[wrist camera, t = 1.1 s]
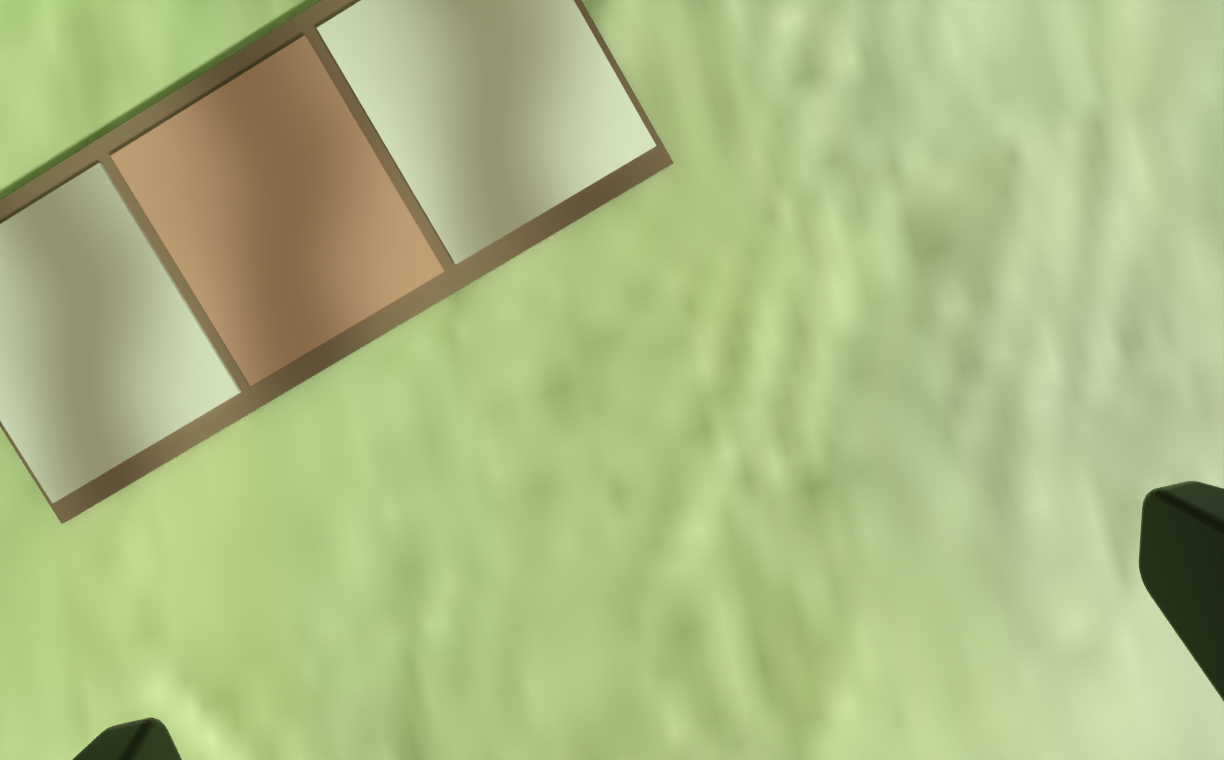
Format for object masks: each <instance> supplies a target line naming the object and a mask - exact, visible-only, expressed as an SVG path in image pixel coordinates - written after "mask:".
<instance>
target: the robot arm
mask: <svg viewBox="0 0 1224 760" xmlns="http://www.w3.org/2000/svg"><path fill="white" fill-rule="evenodd" d="M1139 569H1140V574H1141V578H1142V581H1143V583H1144V585H1145V587H1146V589H1147V591H1148V592H1149V594H1150V595H1151V597H1152V598H1153V600H1154V601H1155V603H1156V604H1157V606H1158V607H1159V608H1160V610H1161V611H1162V613H1163V614H1164V616H1165V617H1166V619H1167V620H1168V621H1169V623H1170V624H1171V626H1172V627H1173V629H1174V630H1175V632H1176V633H1177V634H1178V636H1179V637H1180V639H1181V640H1182V642H1183V643H1184V645H1185V646H1186V647H1187V649H1188V650H1189V652H1190V653H1191V655H1192V656H1193V658H1194V659H1195V661H1196V662H1197V663H1198V665H1199V666H1200V668H1201V669H1202V671H1203V672H1204V674H1205V675H1206V676H1207V678H1208V679H1209V681H1210V682H1211V684H1212V685H1213V687H1214V688H1215V689H1216V691H1217V692H1218V694H1219V695H1220V697H1221V698H1222V700H1223V701H1224V489H1223V488H1219V487H1215V486H1212V485H1208V484H1204V483H1201V482H1196V481H1187V482H1182V483H1178V484H1173V485H1169V486H1165V487H1160V488H1156V489H1153V490H1152V491H1150V492H1149V493H1148V494H1147V495H1146V497H1145V499H1144V501H1143V507H1142V520H1141V536H1140V551H1139ZM73 760H182V759H181V757H180V755H179V753H178V751H177V749H176V747H175V744H174V742H173V740H172V738H171V736H170V734H169V732H168V730H167V728H166V727H165V725H164V724H163V723H162V722H161V721H160V720H158V719H155V718H146V719H141V720H137V721H132V722H128V723H123V724H119V725H115V726H112V727H109V728H107V729H106V730H104V731H103V732H102V733H101V734H100V735H99V736H97V737H96V738H95V739H94V740H93V741H92V742H91V743H90V744H89V745H88V746H87V747H86V748H85V749H83V750H82V751H81V752H80V753H79V754H78V755H77V756H76V757H75V758H74V759H73Z"/></svg>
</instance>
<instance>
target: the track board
mask: <svg viewBox="0 0 1224 760" xmlns="http://www.w3.org/2000/svg"><path fill="white" fill-rule="evenodd" d="M671 164H673V161H672V159H671V158H670V156H669V154H668V152H667V151H666V149H665V147H664V145H663V144H662V142H661V140H660V138H659V137H658V135H657V133H656V131H655V129H654V128H653V126H652V124H651V122H650V121H649V119H648V117H647V115H646V114H645V112H644V110H643V108H642V107H641V105H640V103H639V101H638V100H637V98H636V96H635V94H634V92H633V91H632V89H631V87H630V85H629V84H628V82H627V80H626V78H625V77H624V75H623V73H622V71H621V70H620V68H619V66H618V64H617V63H616V61H615V59H614V57H613V55H612V54H611V52H610V50H609V48H608V47H607V45H606V43H605V41H604V40H603V38H602V36H601V34H600V33H599V31H598V29H597V27H596V25H595V24H594V22H593V20H592V18H591V17H590V15H589V13H588V11H587V10H586V8H585V6H584V4H583V3H582V1H581V0H321V1H319V2H318V3H316V4H314V5H313V6H311V7H309V8H308V9H306V10H305V11H303V12H301V13H300V14H298V15H297V16H295V17H293V18H292V19H290V20H289V21H287V22H285V23H284V24H282V25H281V26H279V27H277V28H276V29H274V30H273V31H271V32H269V33H268V34H266V35H265V36H263V37H261V38H260V39H258V40H256V41H255V42H253V43H252V44H250V45H248V46H247V47H245V48H244V49H242V50H240V51H239V52H237V53H236V54H234V55H232V56H231V57H229V58H228V59H226V60H224V61H223V62H221V63H220V64H218V65H216V66H215V67H213V68H211V69H210V70H208V71H207V72H205V73H203V74H202V75H200V76H199V77H197V78H195V79H194V80H192V81H191V82H189V83H187V84H186V85H184V86H183V87H181V88H179V89H178V90H176V91H175V92H173V93H171V94H170V95H168V96H167V97H165V98H163V99H162V100H160V101H158V102H157V103H155V104H154V105H152V106H150V107H149V108H147V109H146V110H144V111H142V112H141V113H139V114H138V115H136V116H134V117H133V118H131V119H130V120H128V121H126V122H125V123H123V124H122V125H120V126H118V127H117V128H115V129H114V130H112V131H110V132H109V133H107V134H105V135H104V136H102V137H101V138H99V139H97V140H96V141H94V142H93V143H91V144H89V145H88V146H86V147H85V148H83V149H81V150H80V151H78V152H77V153H75V154H73V155H72V156H70V157H69V158H67V159H65V160H64V161H62V162H60V163H59V164H57V165H56V166H54V167H52V168H51V169H49V170H48V171H46V172H44V173H43V174H41V175H40V176H38V177H36V178H35V179H33V180H32V181H30V182H28V183H27V184H25V185H24V186H22V187H20V188H19V189H17V190H16V191H14V192H12V193H11V194H9V195H7V196H6V197H4V198H3V199H1V200H0V427H1V428H2V430H3V431H4V433H5V435H6V436H7V438H8V439H9V441H10V443H11V444H12V446H13V447H14V449H15V450H16V452H17V454H18V455H19V457H20V458H21V460H22V462H23V463H24V465H25V466H26V468H27V470H28V471H29V473H30V474H31V476H32V477H33V479H34V481H35V482H36V484H37V485H38V487H39V489H40V490H41V492H42V493H43V495H44V497H45V498H46V500H47V501H48V503H49V504H50V506H51V508H52V509H53V511H54V512H55V514H56V516H57V517H58V519H59V520H60V522H61V523H64V522H67V521H68V520H70V519H72V518H73V517H75V516H77V515H79V514H80V513H82V512H84V511H85V510H87V509H89V508H90V507H92V506H94V505H95V504H97V503H99V502H101V501H102V500H104V499H106V498H107V497H109V496H111V495H112V494H114V493H116V492H117V491H119V490H121V489H123V488H124V487H126V486H128V485H129V484H131V483H133V482H134V481H136V480H138V479H140V478H141V477H143V476H145V475H146V474H148V473H150V472H151V471H153V470H155V469H156V468H158V467H160V466H162V465H163V464H165V463H167V462H168V461H170V460H172V459H173V458H175V457H177V456H178V455H180V454H182V453H184V452H185V451H187V450H189V449H190V448H192V447H194V446H195V445H197V444H199V443H200V442H202V441H204V440H206V439H207V438H209V437H211V436H212V435H214V434H216V433H217V432H219V431H221V430H222V429H224V428H226V427H228V426H229V425H231V424H233V423H234V422H236V421H238V420H239V419H241V418H243V417H245V416H246V415H248V414H250V413H251V412H253V411H255V410H256V409H258V408H260V407H261V406H263V405H265V404H267V403H268V402H270V401H272V400H273V399H275V398H277V397H278V396H280V395H282V394H283V393H285V392H287V391H289V390H290V389H292V388H294V387H295V386H297V385H299V384H300V383H302V382H304V381H305V380H307V379H309V378H311V377H312V376H314V375H316V374H317V373H319V372H321V371H322V370H324V369H326V368H327V367H329V366H331V365H333V364H334V363H336V362H338V361H339V360H341V359H343V358H344V357H346V356H348V355H349V354H351V353H353V352H355V351H356V350H358V349H360V348H361V347H363V346H365V345H366V344H368V343H370V342H372V341H373V340H375V339H377V338H378V337H380V336H382V335H383V334H385V333H387V332H388V331H390V330H392V329H394V328H395V327H397V326H399V325H400V324H402V323H404V322H405V321H407V320H409V319H410V318H412V317H414V316H416V315H417V314H419V313H421V312H422V311H424V310H426V309H427V308H429V307H431V306H432V305H434V304H436V303H438V302H439V301H441V300H443V299H444V298H446V297H448V296H449V295H451V294H453V293H454V292H456V291H458V290H460V289H461V288H463V287H465V286H466V285H468V284H470V283H471V282H473V281H475V280H477V279H478V278H480V277H482V276H483V275H485V274H487V273H488V272H490V271H492V270H493V269H495V268H497V267H499V266H500V265H502V264H504V263H505V262H507V261H509V260H510V259H512V258H514V257H515V256H517V255H519V254H521V253H522V252H524V251H526V250H527V249H529V248H531V247H532V246H534V245H536V244H537V243H539V242H541V241H543V240H544V239H546V238H548V237H549V236H551V235H553V234H554V233H556V232H558V231H559V230H561V229H563V228H565V227H566V226H568V225H570V224H571V223H573V222H575V221H576V220H578V219H580V218H581V217H583V216H585V215H587V214H588V213H590V212H592V211H593V210H595V209H597V208H598V207H600V206H602V205H604V204H605V203H607V202H609V201H610V200H612V199H614V198H615V197H617V196H619V195H620V194H622V193H624V192H626V191H627V190H629V189H631V188H632V187H634V186H636V185H637V184H639V183H641V182H642V181H644V180H646V179H648V178H649V177H651V176H653V175H654V174H656V173H658V172H659V171H661V170H663V169H664V168H666V167H668V166H670V165H671Z"/></svg>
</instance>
